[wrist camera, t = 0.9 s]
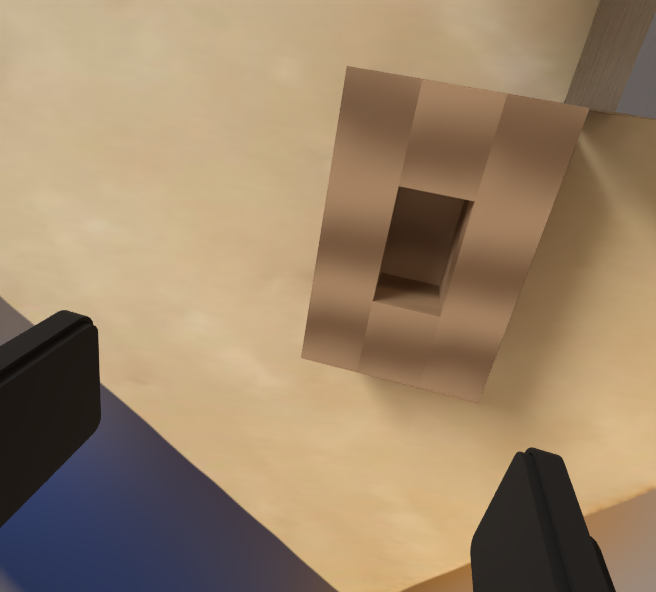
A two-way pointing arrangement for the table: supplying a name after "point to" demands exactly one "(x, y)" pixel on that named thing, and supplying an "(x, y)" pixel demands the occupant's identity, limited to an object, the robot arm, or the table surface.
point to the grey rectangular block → (618, 61)
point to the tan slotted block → (431, 226)
